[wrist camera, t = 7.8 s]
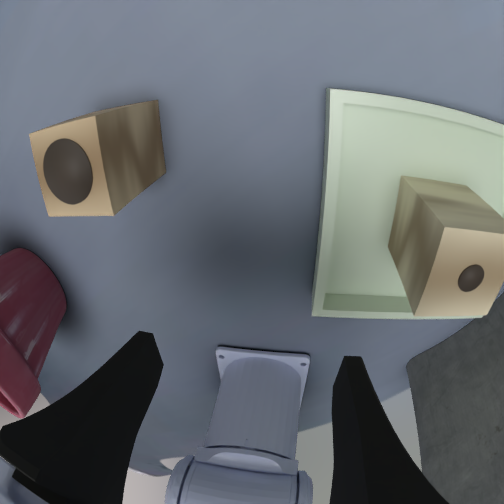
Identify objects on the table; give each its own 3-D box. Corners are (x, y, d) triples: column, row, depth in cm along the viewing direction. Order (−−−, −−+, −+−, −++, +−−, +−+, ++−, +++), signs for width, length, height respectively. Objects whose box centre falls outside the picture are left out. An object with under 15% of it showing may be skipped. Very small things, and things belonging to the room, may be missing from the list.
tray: (472, 298, 18) (481, 317, 17) (311, 293, 20) (311, 316, 18) (521, 131, 11) (541, 140, 9) (326, 88, 13) (330, 88, 11)
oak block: (166, 172, 17) (112, 216, 12) (107, 176, 18) (47, 217, 13) (158, 99, 15) (93, 116, 10) (96, 111, 15) (27, 134, 10)
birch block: (448, 251, 16) (487, 316, 11) (387, 246, 17) (414, 317, 12) (466, 185, 14) (522, 237, 9) (401, 175, 14) (445, 228, 9)
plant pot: (-16, 215, 22) (-94, 284, 11) (67, 235, 21) (-35, 344, 10) (19, 311, 30) (-32, 379, 19) (99, 346, 29) (48, 439, 18)
